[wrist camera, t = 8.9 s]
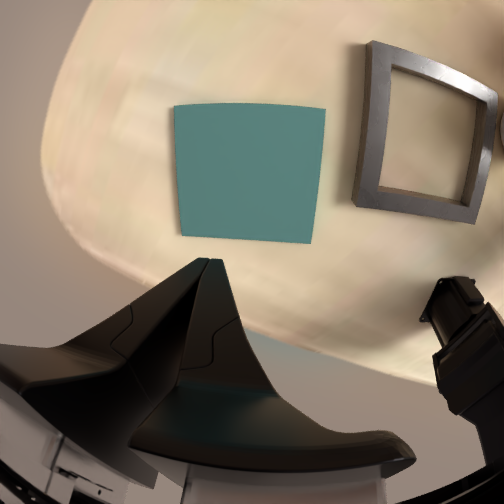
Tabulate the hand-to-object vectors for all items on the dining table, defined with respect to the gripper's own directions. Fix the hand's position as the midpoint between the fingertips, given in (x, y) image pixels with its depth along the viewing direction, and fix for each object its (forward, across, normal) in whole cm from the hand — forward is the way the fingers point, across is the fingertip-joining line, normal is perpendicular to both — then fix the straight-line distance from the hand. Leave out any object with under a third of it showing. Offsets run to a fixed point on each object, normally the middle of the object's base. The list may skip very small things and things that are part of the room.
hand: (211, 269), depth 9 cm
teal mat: (+13, 0, 0) cm, 13 cm away
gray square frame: (+13, -15, -5) cm, 20 cm away
